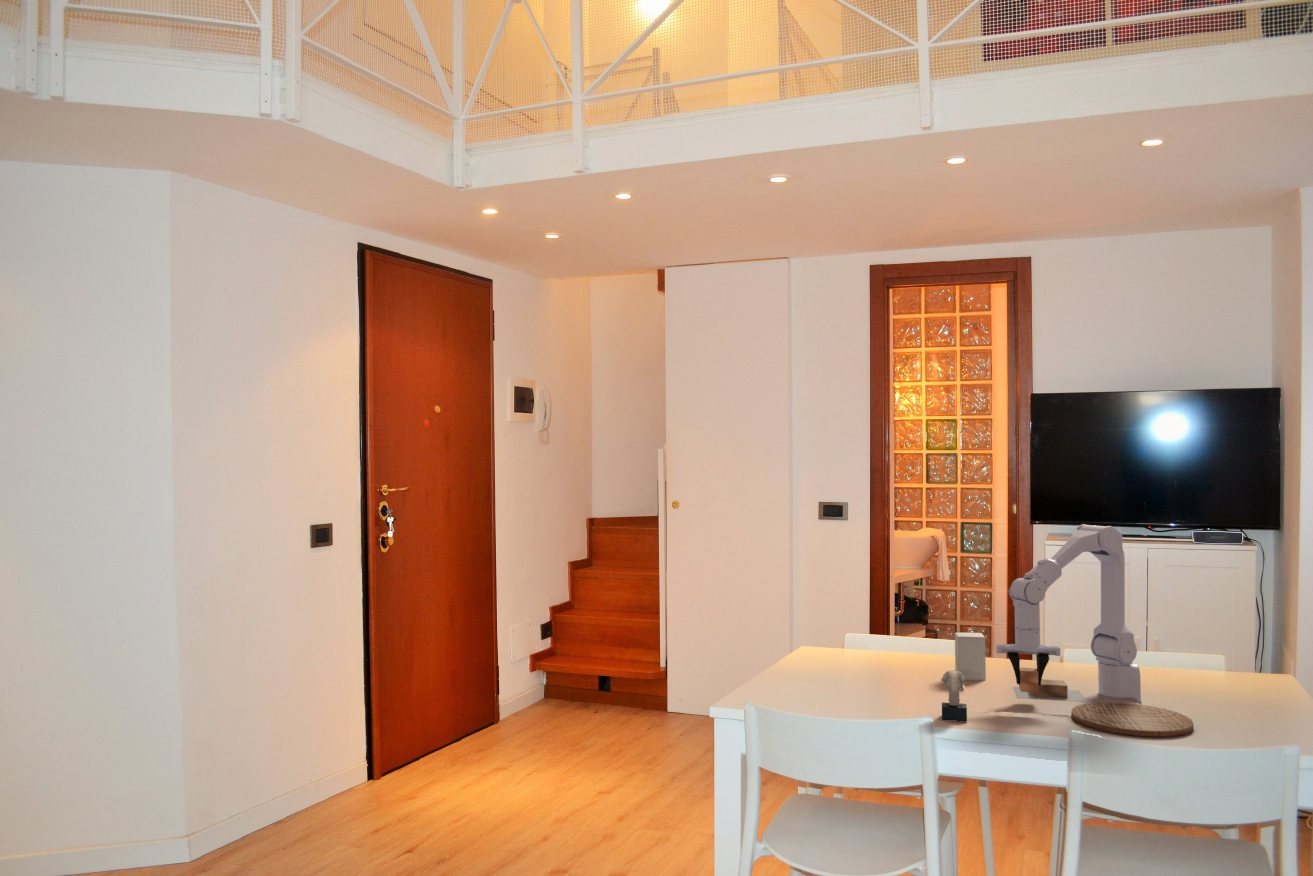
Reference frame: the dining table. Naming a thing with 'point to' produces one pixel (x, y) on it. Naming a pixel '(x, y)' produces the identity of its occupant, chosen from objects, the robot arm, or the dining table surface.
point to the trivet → (1132, 720)
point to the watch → (953, 697)
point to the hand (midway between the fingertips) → (1028, 684)
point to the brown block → (1052, 689)
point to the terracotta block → (1028, 680)
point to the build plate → (1072, 696)
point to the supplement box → (970, 655)
